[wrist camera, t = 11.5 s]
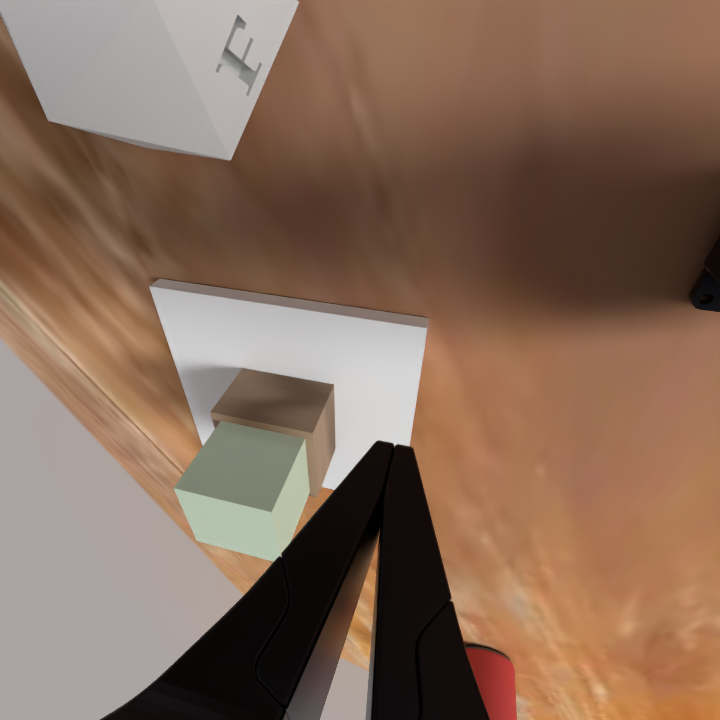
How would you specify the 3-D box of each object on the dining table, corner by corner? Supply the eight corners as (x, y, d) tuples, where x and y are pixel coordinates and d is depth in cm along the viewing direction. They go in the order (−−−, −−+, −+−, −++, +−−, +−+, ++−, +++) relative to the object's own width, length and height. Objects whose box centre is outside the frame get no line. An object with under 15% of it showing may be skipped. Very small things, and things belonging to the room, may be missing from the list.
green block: (305, 438, 22) (271, 512, 18) (309, 492, 25) (281, 563, 22) (220, 420, 23) (173, 488, 19) (235, 474, 26) (197, 541, 22)
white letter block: (209, 172, 20) (248, 236, 13) (-21, 49, 15) (-162, 44, 8) (285, -7, 17) (384, -48, 10) (38, -232, 12) (-97, -620, 5)
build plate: (429, 318, 21) (427, 328, 21) (402, 493, 31) (400, 504, 30) (159, 278, 24) (149, 286, 23) (213, 451, 34) (207, 460, 33)
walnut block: (334, 384, 24) (312, 433, 21) (335, 448, 28) (317, 497, 25) (242, 367, 26) (210, 412, 22) (255, 431, 29) (229, 477, 26)
